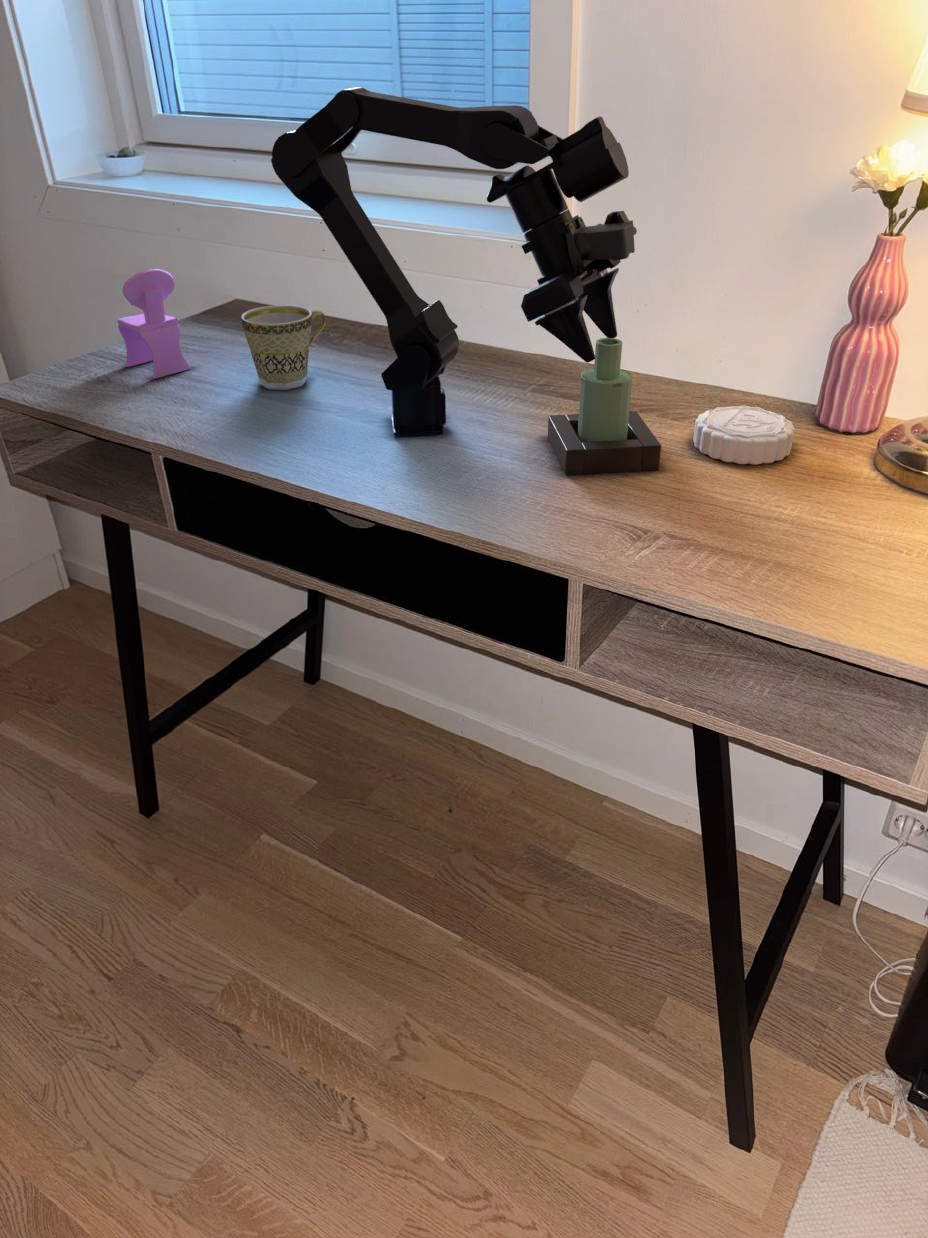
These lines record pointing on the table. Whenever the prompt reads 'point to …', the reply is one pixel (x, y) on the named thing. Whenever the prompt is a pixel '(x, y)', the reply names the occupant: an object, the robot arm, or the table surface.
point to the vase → (605, 395)
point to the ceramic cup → (280, 343)
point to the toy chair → (152, 324)
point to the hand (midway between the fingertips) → (602, 349)
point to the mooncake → (743, 435)
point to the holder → (603, 448)
